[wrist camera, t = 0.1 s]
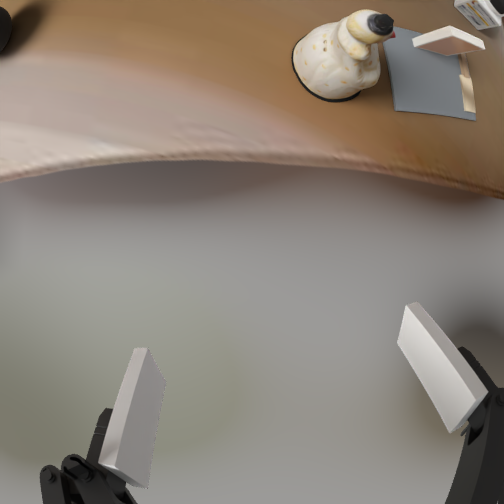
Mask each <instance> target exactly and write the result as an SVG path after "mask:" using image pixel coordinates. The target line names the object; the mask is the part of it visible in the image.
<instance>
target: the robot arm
mask: <svg viewBox="0 0 504 504" xmlns="http://www.w3.org/2000/svg"><path fill="white" fill-rule="evenodd" d="M397 344H398V345H399V347H400V349H401V350H402V352H403V353H404V355H405V356H406V358H407V360H408V361H409V363H410V364H411V366H412V368H413V369H414V371H415V372H416V374H417V376H418V378H419V379H420V381H421V383H422V384H423V386H424V388H425V390H426V391H427V393H428V395H429V396H430V398H431V400H432V402H433V403H434V405H435V407H436V409H437V411H438V413H439V414H440V416H441V418H442V420H443V422H444V424H445V426H446V427H447V429H448V431H449V433H451V432H453V431H455V430H457V429H458V428H460V427H462V426H463V424H464V423H465V422H466V421H467V420H468V421H469V425H468V426H467V427H466V428H465V429H464V430H463V431H462V433H461V436H463V435H464V434H465V432H466V435H465V441H464V445H463V450H462V453H461V457H460V461H459V464H458V468H457V471H456V474H455V477H454V480H453V483H452V486H451V489H450V492H449V495H448V497H447V499H446V502H445V504H497V502H498V504H504V388H498V387H497V386H496V385H495V384H494V382H493V381H492V380H491V378H490V377H489V376H488V374H487V373H486V371H485V370H484V369H483V367H482V366H480V363H479V362H478V361H476V359H475V357H474V356H473V355H472V353H471V352H470V351H468V350H467V349H465V348H464V347H460V348H458V349H457V348H456V347H455V346H454V345H453V343H452V342H451V341H450V340H449V338H448V337H447V336H446V335H445V333H444V332H443V331H442V330H441V328H440V327H439V326H438V325H437V324H436V322H435V321H434V320H433V319H432V318H431V317H430V315H429V314H428V313H427V312H426V311H425V310H424V309H423V307H422V306H421V305H420V304H419V303H418V302H414V303H411V304H407V305H406V307H405V312H404V317H403V321H402V325H401V330H400V334H399V338H398V342H397ZM165 386H166V380H165V379H164V377H163V375H162V373H161V372H160V370H159V368H158V366H157V364H156V362H155V361H154V359H153V357H152V355H151V353H150V351H149V349H148V348H135V349H134V351H133V354H132V357H131V359H130V362H129V365H128V368H127V370H126V373H125V376H124V379H123V382H122V385H121V388H120V391H119V394H118V397H117V400H116V403H115V406H114V409H109V408H106V409H105V410H104V411H103V412H102V414H101V415H100V416H99V419H98V422H97V425H96V426H97V427H96V428H95V431H94V433H95V434H94V435H93V438H92V441H91V444H90V448H89V451H88V454H87V458H86V460H85V459H84V458H82V457H81V456H79V455H76V454H72V455H68V456H67V457H65V458H64V460H63V461H62V465H61V470H59V469H58V468H56V467H55V466H53V465H47V466H45V467H44V468H42V470H41V473H40V483H41V492H42V499H43V504H137V503H136V501H135V500H134V498H133V497H132V495H131V494H130V492H129V491H128V489H127V488H126V487H125V486H126V482H127V483H129V484H130V485H132V486H136V487H141V488H147V489H148V483H149V475H150V469H151V462H152V456H153V450H154V444H155V438H156V432H157V427H158V421H159V415H160V411H161V406H162V401H163V396H164V390H165Z"/></svg>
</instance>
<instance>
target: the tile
mask: <svg viewBox="0 0 504 504" xmlns="http://www.w3.org/2000/svg"><path fill="white" fill-rule="evenodd" d="M412 41H413V45H414V47H416V48H420V49H424V50H428V51H432V52H435V53H439V54H442V55H445V56H450V55H455V54H460V53H466V52H472V51H479V50H485V47H484V43H483V41H482V40H480V39H478V38H476V37H474V36H472V35H470V34H468V33H466V32H464V31H461V30H459V29H457V28H454V27H452V26H447V27H444V28H441V29H438V30H435V31H432V32H429V33H426V34H423V35H421V36H418V37H415V38H413V39H412Z"/></svg>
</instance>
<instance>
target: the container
mask: <svg viewBox="0 0 504 504" xmlns="http://www.w3.org/2000/svg"><path fill="white" fill-rule="evenodd" d="M454 7H455V8H457V9H458V10H459V11H460V12H461V13H462V14H463V15H464V16H465V17H466V18H467V19H468V20H469V21H470V22H471V23H472V24H473V26H474V27H475V28H476V29H477V30H482V29H487V28H492V27H498V26H501V17H502V16H504V0H455V3H454Z"/></svg>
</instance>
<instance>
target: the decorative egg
mask: <svg viewBox="0 0 504 504" xmlns="http://www.w3.org/2000/svg"><path fill="white" fill-rule="evenodd" d="M11 31H12V20H11V17H10V15H9V13H8V12H7V11H6V10H5V9H4V8H2V7H0V52H1V51H2V49H3V48H4V47H5V45H6V43H7V42H8V40H9V37H10V35H11Z"/></svg>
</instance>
